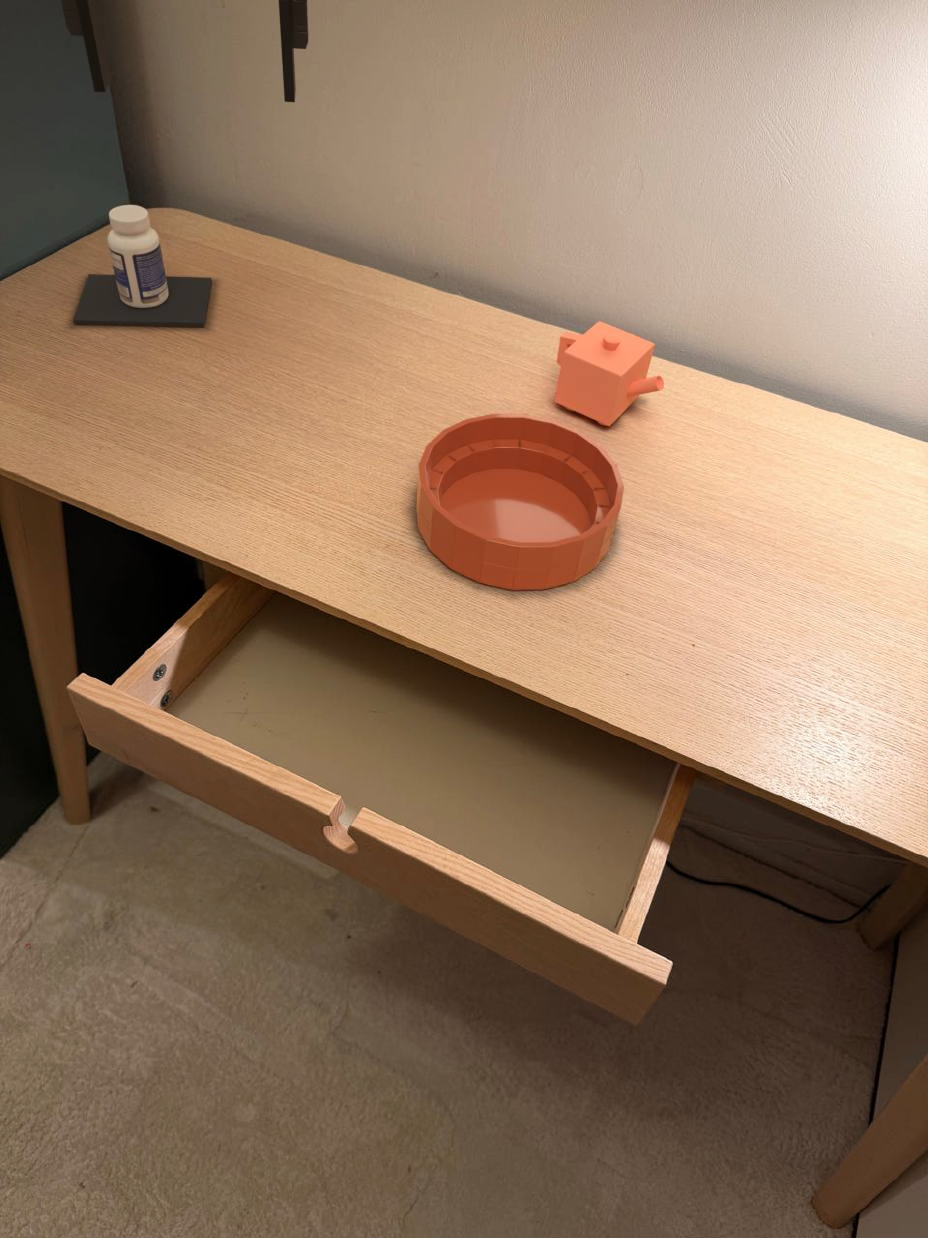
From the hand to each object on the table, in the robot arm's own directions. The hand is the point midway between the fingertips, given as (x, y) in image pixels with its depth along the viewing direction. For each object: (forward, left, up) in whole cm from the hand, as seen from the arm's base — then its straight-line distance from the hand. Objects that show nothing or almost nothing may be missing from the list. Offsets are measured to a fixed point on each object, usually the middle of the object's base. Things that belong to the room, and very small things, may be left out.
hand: (197, 90), depth 68 cm
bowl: (+26, -14, -31) cm, 43 cm away
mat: (-12, +23, -31) cm, 40 cm away
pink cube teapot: (+38, +4, -31) cm, 49 cm away
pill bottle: (-12, +23, -30) cm, 40 cm away
